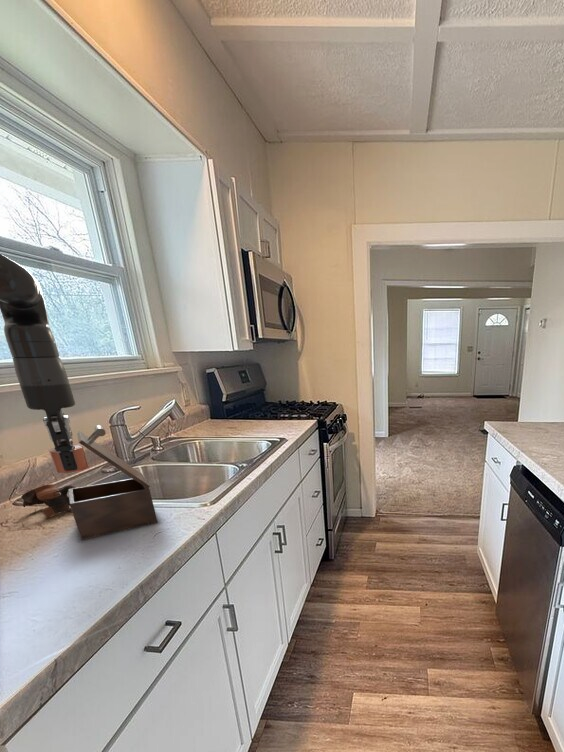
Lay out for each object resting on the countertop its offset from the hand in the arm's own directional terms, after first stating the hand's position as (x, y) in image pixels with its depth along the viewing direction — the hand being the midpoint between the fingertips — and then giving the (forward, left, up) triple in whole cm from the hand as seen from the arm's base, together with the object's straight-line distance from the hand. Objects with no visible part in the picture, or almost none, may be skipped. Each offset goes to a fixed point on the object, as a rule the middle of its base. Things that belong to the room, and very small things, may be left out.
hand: (71, 466), depth 84 cm
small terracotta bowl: (0, 0, -1) cm, 1 cm away
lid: (+10, +6, -2) cm, 12 cm away
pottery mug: (+3, +29, -18) cm, 34 cm away
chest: (+8, +6, -17) cm, 20 cm away
